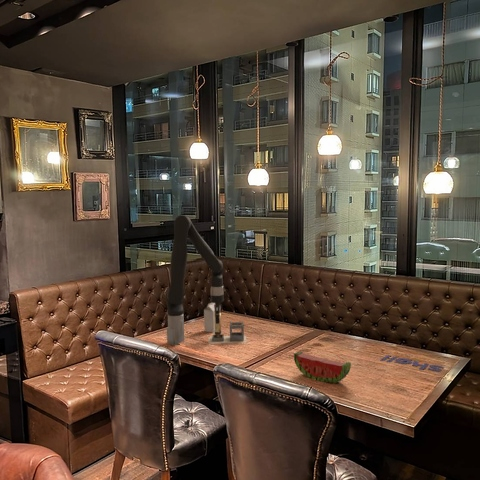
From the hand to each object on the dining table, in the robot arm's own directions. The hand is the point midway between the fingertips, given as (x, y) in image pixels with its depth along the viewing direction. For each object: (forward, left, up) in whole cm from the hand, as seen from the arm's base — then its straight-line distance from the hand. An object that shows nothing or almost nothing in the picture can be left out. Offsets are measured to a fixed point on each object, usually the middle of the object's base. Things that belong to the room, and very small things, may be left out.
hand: (217, 321), depth 255 cm
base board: (+3, -3, -12) cm, 13 cm away
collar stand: (+4, -4, -11) cm, 12 cm away
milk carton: (+10, +17, -12) cm, 23 cm away
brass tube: (0, 0, -11) cm, 11 cm away
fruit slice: (-4, -75, -12) cm, 76 cm away
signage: (+42, -97, -13) cm, 107 cm away
